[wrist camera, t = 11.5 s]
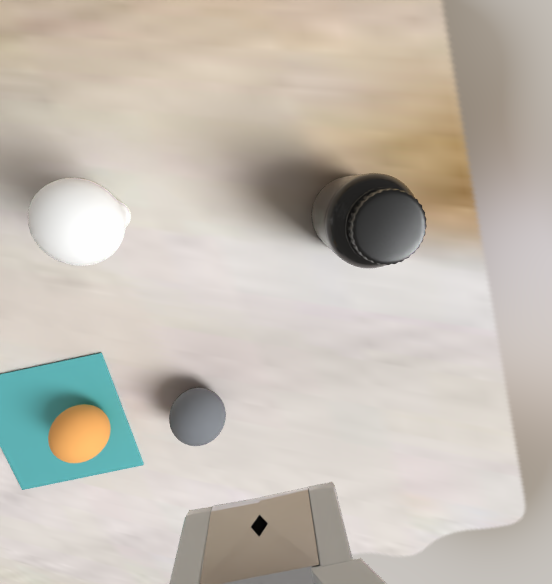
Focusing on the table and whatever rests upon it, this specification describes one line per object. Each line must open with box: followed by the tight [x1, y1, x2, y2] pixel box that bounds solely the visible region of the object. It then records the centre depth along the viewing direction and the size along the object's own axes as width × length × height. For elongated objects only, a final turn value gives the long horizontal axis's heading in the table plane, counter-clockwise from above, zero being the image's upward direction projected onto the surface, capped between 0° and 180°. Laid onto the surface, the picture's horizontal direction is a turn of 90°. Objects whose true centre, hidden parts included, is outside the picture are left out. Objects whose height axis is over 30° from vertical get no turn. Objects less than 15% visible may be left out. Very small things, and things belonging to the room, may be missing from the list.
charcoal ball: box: [169, 388, 226, 446], centre depth 37 cm, size 6×6×6 cm
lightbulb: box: [28, 178, 131, 266], centre depth 29 cm, size 6×6×11 cm
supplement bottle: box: [312, 173, 426, 268], centre depth 29 cm, size 7×7×12 cm
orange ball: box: [48, 404, 111, 463], centre depth 37 cm, size 6×6×6 cm
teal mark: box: [0, 353, 144, 490], centre depth 40 cm, size 14×14×1 cm
